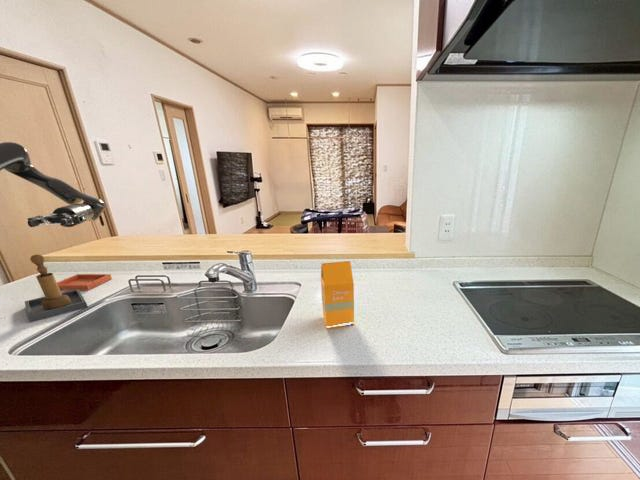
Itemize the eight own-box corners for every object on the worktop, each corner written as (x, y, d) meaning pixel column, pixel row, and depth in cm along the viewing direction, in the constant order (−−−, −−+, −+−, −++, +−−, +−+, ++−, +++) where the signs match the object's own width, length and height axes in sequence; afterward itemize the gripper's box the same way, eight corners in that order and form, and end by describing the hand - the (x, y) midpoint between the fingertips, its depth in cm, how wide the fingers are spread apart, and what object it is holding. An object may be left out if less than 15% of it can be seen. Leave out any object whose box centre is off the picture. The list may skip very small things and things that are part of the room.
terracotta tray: (52, 290, 113) (50, 285, 113) (79, 278, 124) (77, 274, 123) (88, 290, 114) (86, 285, 113) (112, 278, 124) (110, 274, 124)
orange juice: (354, 325, 92) (353, 265, 85) (326, 329, 90) (323, 268, 82) (348, 313, 99) (347, 257, 92) (322, 316, 97) (319, 259, 89)
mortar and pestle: (70, 298, 105) (50, 250, 99) (71, 305, 101) (50, 255, 94) (44, 304, 101) (21, 254, 94) (43, 311, 97) (19, 259, 90)
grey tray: (27, 306, 101) (24, 301, 100) (80, 294, 111) (78, 288, 110) (30, 322, 92) (27, 316, 91) (87, 307, 101) (85, 301, 100)
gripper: (44, 206, 112) (13, 213, 98) (90, 205, 117) (68, 211, 102) (52, 226, 115) (23, 235, 101) (97, 223, 119) (76, 232, 105)
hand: (46, 223), depth 102 cm, fingers open, 8 cm apart
